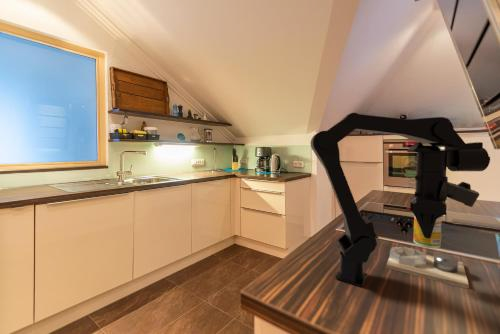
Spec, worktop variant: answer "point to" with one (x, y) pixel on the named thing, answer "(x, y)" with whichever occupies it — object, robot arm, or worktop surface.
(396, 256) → the socket collar
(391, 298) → the worktop surface
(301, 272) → the worktop surface
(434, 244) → the supplement bottle
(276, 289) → the worktop surface
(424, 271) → the carrier plate
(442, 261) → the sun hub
